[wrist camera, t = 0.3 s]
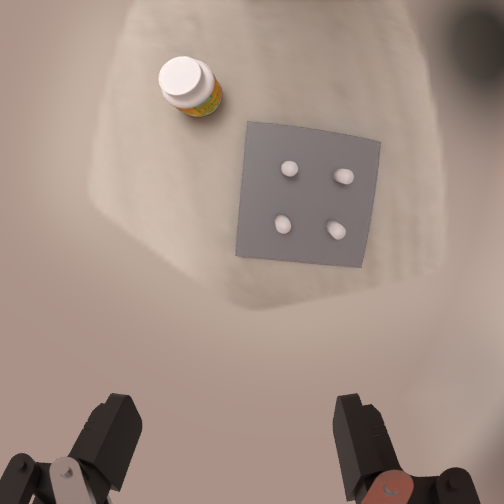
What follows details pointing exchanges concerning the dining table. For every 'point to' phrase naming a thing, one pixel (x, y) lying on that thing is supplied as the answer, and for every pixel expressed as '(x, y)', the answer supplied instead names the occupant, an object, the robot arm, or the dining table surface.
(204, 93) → the supplement bottle
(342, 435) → the robot arm
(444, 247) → the dining table surface
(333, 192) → the pin holder
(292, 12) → the dining table surface
